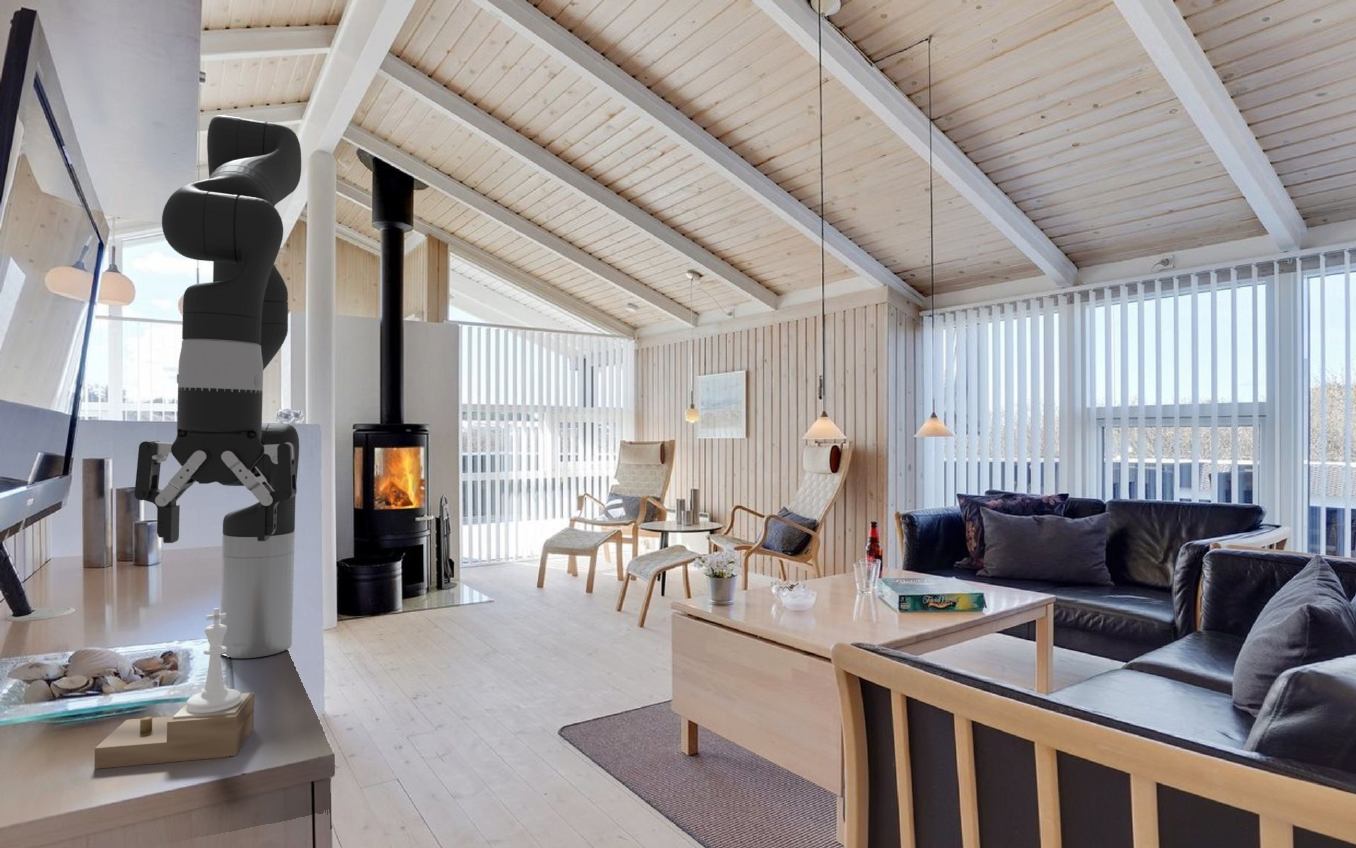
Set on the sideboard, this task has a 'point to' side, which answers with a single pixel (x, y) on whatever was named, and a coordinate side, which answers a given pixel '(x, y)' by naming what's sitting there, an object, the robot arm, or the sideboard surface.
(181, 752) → the stepped wooden block
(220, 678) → the chess piece
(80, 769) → the sideboard surface
